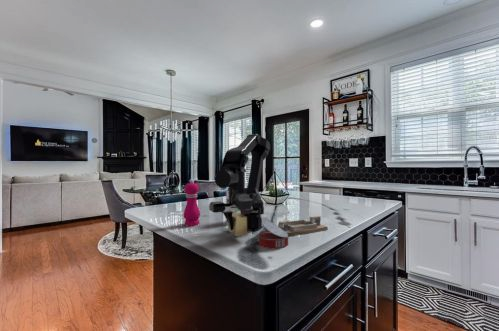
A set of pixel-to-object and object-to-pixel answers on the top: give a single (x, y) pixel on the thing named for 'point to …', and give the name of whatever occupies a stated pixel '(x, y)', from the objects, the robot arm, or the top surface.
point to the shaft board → (302, 226)
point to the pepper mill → (191, 204)
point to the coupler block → (239, 224)
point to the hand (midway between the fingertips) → (237, 229)
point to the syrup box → (234, 210)
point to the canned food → (272, 236)
